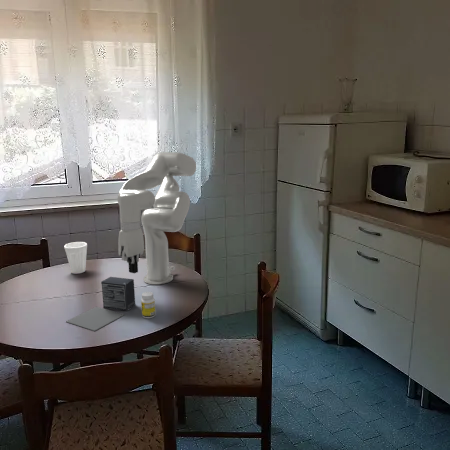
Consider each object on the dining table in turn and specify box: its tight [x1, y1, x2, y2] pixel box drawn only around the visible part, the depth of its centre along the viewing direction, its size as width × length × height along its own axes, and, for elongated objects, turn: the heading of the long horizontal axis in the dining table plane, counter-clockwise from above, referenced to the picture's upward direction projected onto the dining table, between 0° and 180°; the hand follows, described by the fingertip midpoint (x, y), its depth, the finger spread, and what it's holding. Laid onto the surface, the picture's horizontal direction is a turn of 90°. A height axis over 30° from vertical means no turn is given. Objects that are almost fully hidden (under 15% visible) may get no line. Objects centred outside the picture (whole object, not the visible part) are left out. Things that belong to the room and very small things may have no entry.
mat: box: [65, 306, 125, 332], centre depth 156 cm, size 14×14×1 cm
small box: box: [100, 276, 136, 312], centre depth 164 cm, size 11×6×10 cm, turn 71°
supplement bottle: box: [140, 291, 156, 319], centre depth 156 cm, size 5×5×8 cm
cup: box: [63, 241, 88, 274], centre depth 202 cm, size 10×10×13 cm
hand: (133, 272), depth 170 cm, fingers closed
